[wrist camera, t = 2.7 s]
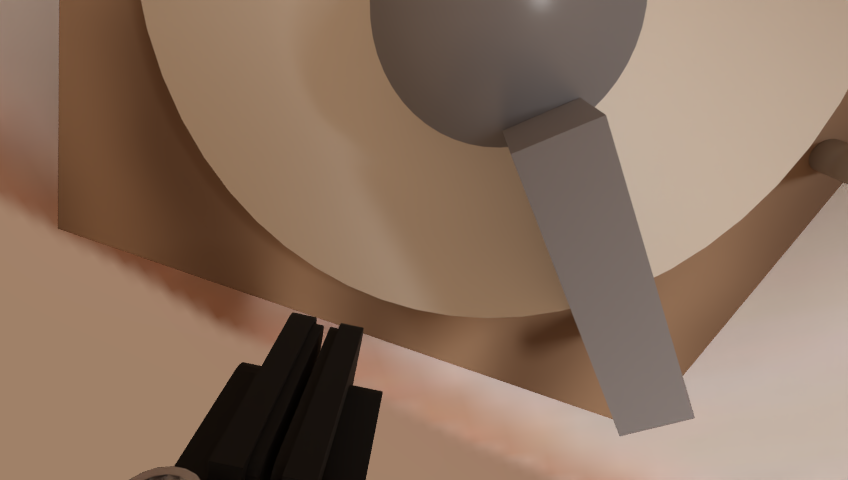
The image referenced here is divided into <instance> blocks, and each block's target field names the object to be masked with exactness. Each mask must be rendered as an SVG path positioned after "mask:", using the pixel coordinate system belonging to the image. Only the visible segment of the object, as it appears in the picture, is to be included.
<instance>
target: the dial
mask: <svg viewBox="0 0 848 480" xmlns="http://www.w3.org/2000/svg"><path fill="white" fill-rule="evenodd" d="M141 3H142V8H143V13H144V17H145V22H146V27H147V30H148V34H149V37H150V40H151V43H152V46H153V49H154V52H155V55H156V58H157V61H158V64H159V67H160V70H161V73H162V76H163V79H164V81H165V83H166V85H167V87H168V90H169V92H170V94H171V96H172V99H173V101H174V103H175V105H176V107H177V110H178V112H179V114H180V116H181V119H182V120H183V122H184V124H185V126H186V127H187V129H188V131H189V132H190V134H191V136H192V138H193V139H194V141H195V143H196V144H197V146H198V148H199V150H200V151H201V153H202V155H203V156H204V158H205V159H206V161H207V162H208V163H209V165H210V166H211V167H212V169H213V170H214V172H215V173H216V174H217V176H218V177H219V178H220V180H221V181H222V182H223V184H224V185H225V186H226V188H227V189H228V191H229V192H230V193H231V194H232V195H233V196H234V197H235V198H236V199H237V200H238V202H239V203H240V204H241V205H242V206H243V207H244V208H245V209H246V210H247V211H248V212H249V214H250V215H251V216H252V217H253V218H254V219H255V220H256V221H257V222H258V223H259V224H260V225H261V226H263V227H264V228H265V229H266V230H267V231H268V232H269V233H271V234H272V235H273V236H274V237H275V238H276V239H277V240H279V241H280V242H281V243H282V244H283V245H284V246H285V247H287V248H288V249H290V250H291V251H292V252H294V253H295V254H297V255H298V256H300V257H301V258H302V259H304V260H305V261H307V262H308V263H310V264H311V265H312V266H314V267H315V268H317V269H319V270H320V271H322V272H324V273H326V274H328V275H329V276H331V277H333V278H335V279H337V280H339V281H340V282H342V283H344V284H346V285H348V286H350V287H352V288H355V289H357V290H360V291H362V292H364V293H367V294H369V295H372V296H374V297H376V298H379V299H381V300H384V301H388V302H391V303H395V304H398V305H402V306H405V307H409V308H412V309H415V310H421V311H426V312H432V313H438V314H443V315H449V316H461V317H476V318H503V317H524V316H531V315H537V314H544V313H551V312H557V311H562V310H566V309H571V312H572V314H573V317H574V319H575V322H576V324H577V327H578V330H579V332H580V335H581V337H582V340H583V343H584V345H585V348H586V350H587V353H588V355H589V358H590V361H591V363H592V366H593V368H594V371H595V374H596V376H597V379H598V381H599V384H600V387H601V389H602V392H603V394H604V397H605V399H606V402H607V405H608V407H609V410H610V412H611V415H612V418H613V420H614V423H615V425H616V428H617V430H618V433H619V436H623V435H627V434H631V433H635V432H640V431H644V430H648V429H652V428H656V427H660V426H664V425H668V424H673V423H677V422H681V421H685V420H689V419H693V418H695V417H694V414H693V410H692V407H691V403H690V400H689V397H688V393H687V390H686V386H685V383H684V379H683V376H682V373H681V369H680V366H679V362H678V359H677V356H676V352H675V349H674V345H673V342H672V339H671V335H670V332H669V328H668V325H667V321H666V318H665V315H664V311H663V308H662V304H661V301H660V298H659V294H658V291H657V287H656V284H655V280H654V277H656V276H658V275H660V274H662V273H664V272H666V271H668V270H670V269H672V268H674V267H675V266H677V265H678V264H680V263H682V262H683V261H685V260H686V259H688V258H689V257H691V256H693V255H694V254H696V253H697V252H699V251H701V250H702V249H704V248H705V247H707V246H708V245H710V244H711V243H712V242H713V241H715V240H716V239H717V238H718V237H720V236H721V235H722V234H724V233H725V232H726V231H727V230H729V229H730V228H731V227H733V226H734V225H735V224H736V223H738V222H739V221H740V220H741V219H743V218H744V217H745V216H746V215H747V214H748V213H749V212H750V211H751V210H752V209H753V208H754V207H755V206H756V205H757V204H758V203H759V202H760V201H762V200H763V199H764V198H765V197H766V196H767V195H768V194H769V193H770V192H771V191H772V190H773V189H774V188H775V187H776V186H777V185H778V184H779V183H780V182H781V180H782V179H783V178H784V177H785V176H786V175H787V173H788V172H789V171H790V170H791V169H792V168H793V166H794V165H795V164H796V163H797V162H798V160H799V159H800V158H801V157H802V156H803V155H804V153H805V152H806V151H807V150H808V149H809V147H810V146H811V145H812V143H813V142H814V140H815V139H816V138H817V136H818V135H819V133H820V132H821V130H822V129H823V127H824V126H825V124H826V123H827V122H828V120H829V119H830V117H831V116H832V114H833V113H834V111H835V110H836V108H837V107H838V106H839V104H840V103H841V101H842V99H843V97H844V95H845V94H846V92H847V90H848V0H141Z"/></svg>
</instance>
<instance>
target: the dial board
mask: <svg viewBox="0 0 848 480" xmlns="http://www.w3.org/2000/svg"><path fill="white" fill-rule="evenodd" d="M843 182H844V183H846V184H848V90H847V92H846V94H845V95H844V97H843V99H842V101H841V103H840V104H839V106H838V107H837V108H836V110H835V111H834V113H833V114H832V116H831V117H830V119H829V120H828V122H827V123H826V124H825V126H824V127H823V129H822V130H821V132H820V133H819V135H818V136H817V138H816V139H815V140H814V142H813V143H812V145H811V146H810V147H809V149H808V150H807V151H806V152H805V153H804V155H803V156H802V157H801V158H800V159H799V160H798V162H797V163H796V164H795V165H794V166H793V168H792V169H791V170H790V171H789V172H788V173H787V175H786V176H785V177H784V178H783V179H782V180H781V182H780V183H779V184H778V185H777V186H776V187H775V188H774V189H773V190H772V191H771V192H770V193H769V194H768V195H767V196H766V197H765V198H764V199H763V200H762V201H760V202H759V203H758V204H757V205H756V206H755V207H754V208H753V209H752V210H751V211H750V212H749V213H748V214H747V215H746V216H745V217H744V218H743V219H741V220H740V221H739V222H738V223H736V224H735V225H734V226H733V227H731V228H730V229H729V230H727V231H726V232H725V233H724V234H722V235H721V236H720V237H718V238H717V239H716V240H715V241H713V242H712V243H711V244H710V245H708V246H707V247H705V248H704V249H702V250H701V251H699V252H697V253H696V254H694V255H693V256H691V257H689V258H688V259H686V260H685V261H683V262H682V263H680V264H678V265H677V266H675V267H674V268H672V269H670V270H668V271H666V272H664V273H662V274H660V275H658V276H656V277H654V280H655V284H656V287H657V291H658V294H659V298H660V301H661V304H662V308H663V311H664V315H665V318H666V321H667V325H668V328H669V332H670V335H671V339H672V342H673V345H674V349H675V352H676V356H677V359H678V362H679V366H680V369H681V373H682V376H683V375H684V374H685V372H686V371H687V370H688V369H689V368H690V366H691V365H692V364H693V363H694V362H695V360H696V359H697V358H698V357H699V355H700V354H701V353H702V352H703V351H704V349H705V348H706V347H707V346H708V345H709V343H710V342H711V341H712V340H713V339H714V337H715V336H716V335H717V334H718V333H719V331H720V330H721V329H722V328H723V327H724V325H725V324H726V323H727V322H728V320H729V319H730V318H731V317H732V316H733V314H734V313H735V312H736V311H737V310H738V308H739V307H740V306H741V305H742V304H743V302H744V301H745V300H746V299H747V298H748V296H749V295H750V294H751V293H752V292H753V290H754V289H755V288H756V287H757V286H758V284H759V283H760V282H761V281H762V279H763V278H764V277H765V276H766V275H767V273H768V272H769V271H770V270H771V269H772V267H773V266H774V265H775V264H776V263H777V261H778V260H779V259H780V258H781V257H782V255H783V254H784V253H785V252H786V251H787V249H788V248H789V247H790V246H791V244H792V243H793V242H794V241H795V240H796V238H797V237H798V236H799V235H800V234H801V232H802V231H803V230H804V229H805V228H806V226H807V225H808V224H809V223H810V222H811V220H812V219H813V218H814V217H815V216H816V214H817V213H818V212H819V211H820V210H821V208H822V207H823V206H824V205H825V203H826V202H827V201H828V200H829V199H830V197H831V196H832V195H833V194H834V193H835V191H836V190H837V189H838V188H839V187H840V185H841V184H842V183H843ZM58 229H61V230H64V231H67V232H70V233H73V234H76V235H78V236H81V237H84V238H87V239H90V240H93V241H96V242H99V243H102V244H105V245H108V246H111V247H113V248H116V249H119V250H122V251H125V252H128V253H131V254H134V255H137V256H140V257H143V258H145V259H148V260H151V261H154V262H157V263H160V264H163V265H166V266H169V267H172V268H175V269H177V270H180V271H183V272H186V273H189V274H192V275H195V276H198V277H201V278H204V279H207V280H209V281H212V282H215V283H218V284H221V285H224V286H227V287H230V288H233V289H236V290H239V291H241V292H244V293H247V294H250V295H253V296H256V297H259V298H262V299H265V300H268V301H271V302H273V303H276V304H279V305H282V306H285V307H288V308H291V309H294V310H297V311H300V312H303V313H305V314H308V315H311V316H314V317H317V318H320V319H323V320H326V321H329V322H332V323H335V324H338V325H340V324H341V323H344V324H349V325H354V326H358V327H363V328H364V330H363V333H364V334H367V335H370V336H372V337H375V338H378V339H381V340H384V341H387V342H390V343H393V344H396V345H399V346H402V347H404V348H407V349H410V350H413V351H416V352H419V353H422V354H425V355H428V356H431V357H434V358H436V359H439V360H442V361H445V362H448V363H451V364H454V365H457V366H460V367H463V368H466V369H468V370H471V371H474V372H477V373H480V374H483V375H486V376H489V377H492V378H495V379H498V380H500V381H503V382H506V383H509V384H512V385H515V386H518V387H521V388H524V389H527V390H530V391H533V392H535V393H538V394H541V395H544V396H547V397H550V398H553V399H556V400H559V401H562V402H565V403H567V404H570V405H573V406H576V407H579V408H582V409H585V410H588V411H591V412H594V413H597V414H599V415H602V416H605V417H608V418H611V419H613V418H612V415H611V412H610V410H609V407H608V405H607V402H606V399H605V397H604V394H603V392H602V389H601V387H600V384H599V381H598V379H597V376H596V374H595V371H594V368H593V366H592V363H591V361H590V358H589V355H588V353H587V350H586V348H585V345H584V343H583V340H582V337H581V335H580V332H579V330H578V327H577V324H576V322H575V319H574V317H573V314H572V312H571V309H566V310H562V311H557V312H551V313H544V314H537V315H531V316H524V317H503V318H476V317H461V316H449V315H443V314H438V313H432V312H426V311H421V310H415V309H412V308H409V307H405V306H402V305H398V304H395V303H391V302H388V301H384V300H381V299H379V298H376V297H374V296H372V295H369V294H367V293H364V292H362V291H360V290H357V289H355V288H352V287H350V286H348V285H346V284H344V283H342V282H340V281H339V280H337V279H335V278H333V277H331V276H329V275H328V274H326V273H324V272H322V271H320V270H319V269H317V268H315V267H314V266H312V265H311V264H310V263H308V262H307V261H305V260H304V259H302V258H301V257H300V256H298V255H297V254H295V253H294V252H292V251H291V250H290V249H288V248H287V247H285V246H284V245H283V244H282V243H281V242H280V241H279V240H277V239H276V238H275V237H274V236H273V235H272V234H271V233H269V232H268V231H267V230H266V229H265V228H264V227H263V226H261V225H260V224H259V223H258V222H257V221H256V220H255V219H254V218H253V217H252V216H251V215H250V214H249V212H248V211H247V210H246V209H245V208H244V207H243V206H242V205H241V204H240V203H239V202H238V200H237V199H236V198H235V197H234V196H233V195H232V194H231V193H230V192H229V191H228V189H227V188H226V186H225V185H224V184H223V182H222V181H221V180H220V178H219V177H218V176H217V174H216V173H215V172H214V170H213V169H212V167H211V166H210V165H209V163H208V162H207V161H206V159H205V158H204V156H203V155H202V153H201V151H200V150H199V148H198V146H197V144H196V143H195V141H194V139H193V138H192V136H191V134H190V132H189V131H188V129H187V127H186V126H185V124H184V122H183V120H182V119H181V116H180V114H179V112H178V110H177V107H176V105H175V103H174V101H173V99H172V96H171V94H170V92H169V90H168V87H167V85H166V83H165V81H164V79H163V76H162V73H161V70H160V67H159V64H158V61H157V58H156V55H155V52H154V49H153V46H152V43H151V40H150V37H149V34H148V30H147V27H146V22H145V17H144V13H143V8H142V3H141V0H59V146H58Z"/></svg>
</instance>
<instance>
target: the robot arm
mask: <svg viewBox="0 0 848 480" xmlns="http://www.w3.org/2000/svg"><path fill="white" fill-rule="evenodd" d="M316 321H317V320H316V317H312V316H307V315H303V314H298V313H292V314H291V315H290V317H289V318H288V320H287V322H286V324H285V326H284V327H283V329H282V331H281V333H280V334H279V336H278V338H277V340H276V342H275V343H274V345H273V347H272V349H271V350H270V352H269V354H268V356H267V357H266V359H265V361H264V363H263V365H262V366H258V365H254V364H249V363H244V362H243V363H241V364H240V365H239V366H238V367H237V368H236V370H235V371H234V373H233V374H232V376H231V378H230V379H229V381H228V382H227V384H226V386H225V387H224V389H223V390H222V392H221V393H220V395H219V396H218V398H217V400H216V401H215V403H214V404H213V406H212V408H211V409H210V411H209V412H208V414H207V415H206V417H205V419H204V420H203V422H202V423H201V425H200V427H199V428H198V430H197V431H196V433H195V434H194V436H193V437H192V439H191V441H190V442H189V444H188V445H187V447H186V449H185V450H184V452H183V454H182V455H181V456H180V458H179V460H178V461H177V463H176V464H175V466H170V467H158V468H155V469H151V470H148V471H145V472H142V473H140V474H139V475H137V476H135V477H133V478H131V479H130V480H366V475H367V469H368V464H369V459H370V454H371V449H372V444H373V439H374V434H375V429H376V424H377V419H378V413H379V408H380V403H381V398H382V391H377V390H372V389H368V388H363V387H358V386H353V381H354V376H355V371H356V366H357V361H358V356H359V351H360V346H361V341H362V336H363V330H364V328H363V327H358V326H354V325H349V324H344V323H341V324H340V326H339V328H338V329H337V328H333V327H330V329H329V331H328V333H327V336H326V338H325V341H324V343H323V346H322V348H321V343H322V337H323V330H324V326H323V325H319V324H316ZM320 350H321V351H320Z"/></svg>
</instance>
